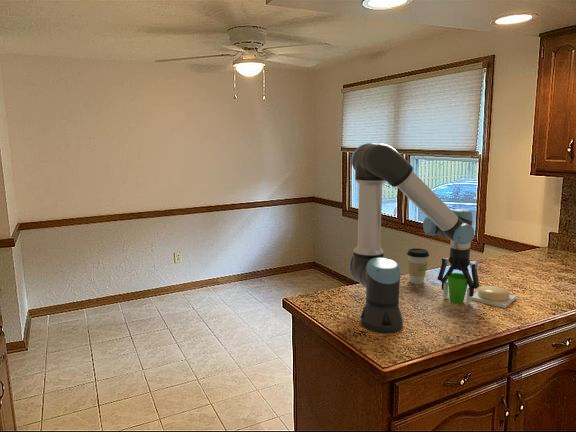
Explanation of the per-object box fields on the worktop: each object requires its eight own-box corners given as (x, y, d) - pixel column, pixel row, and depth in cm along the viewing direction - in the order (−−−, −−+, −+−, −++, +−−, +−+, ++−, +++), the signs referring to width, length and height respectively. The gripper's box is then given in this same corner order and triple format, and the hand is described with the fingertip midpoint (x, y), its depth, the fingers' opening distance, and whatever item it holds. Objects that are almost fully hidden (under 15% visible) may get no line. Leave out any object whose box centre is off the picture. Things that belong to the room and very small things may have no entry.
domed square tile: (505, 308, 176) (505, 299, 175) (469, 299, 185) (470, 290, 185) (516, 298, 186) (517, 290, 185) (482, 290, 195) (482, 282, 195)
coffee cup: (430, 285, 203) (432, 253, 200) (408, 285, 203) (410, 253, 200) (424, 278, 213) (425, 247, 210) (403, 278, 213) (405, 247, 210)
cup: (464, 297, 187) (466, 272, 185) (471, 306, 178) (473, 279, 176) (442, 297, 188) (444, 272, 186) (448, 305, 179) (449, 279, 177)
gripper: (491, 250, 174) (487, 304, 178) (438, 241, 189) (435, 291, 193) (484, 254, 169) (480, 310, 173) (430, 244, 184) (427, 296, 188)
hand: (456, 300), depth 183 cm, fingers closed on cup, 9 cm apart
